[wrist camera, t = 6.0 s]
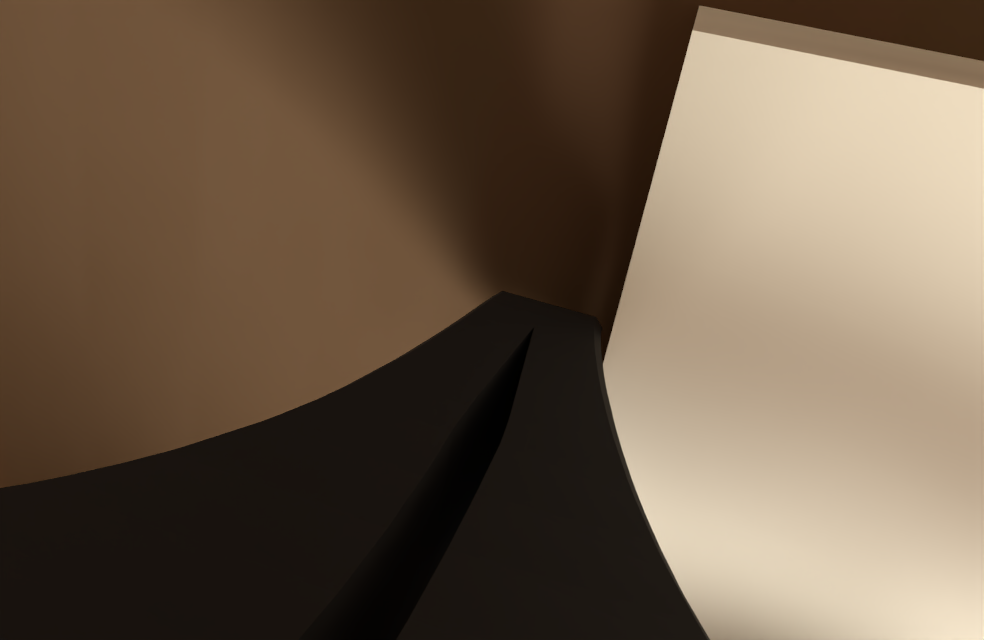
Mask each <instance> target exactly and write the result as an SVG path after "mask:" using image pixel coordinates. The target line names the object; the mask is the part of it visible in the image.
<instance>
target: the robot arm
mask: <svg viewBox="0 0 984 640" xmlns="http://www.w3.org/2000/svg"><path fill="white" fill-rule="evenodd" d="M601 331H602V326H601V325H600V323H599V321H598V320H597V318H596V317H594V316H590V315H587V314H583V313H580V312H576V311H572V310H569V309H565V308H562V307H558V306H554V305H551V304H547V303H544V302H540V301H537V300H533V299H529V298H526V297H522V296H519V295H515V294H511V293H508V292H504V291H502V292H500V293H498V294H496V295H494V296H492V297H491V298H489V299H488V300H487V301H485V302H484V303H482V304H481V305H479V306H478V307H477V308H475V309H474V310H472V311H471V312H469V313H468V314H466V315H465V316H464V317H462V318H461V319H459V320H458V321H456V322H455V323H453V324H452V325H450V326H449V327H447V328H446V329H444V330H443V331H441V332H439V333H438V334H436V335H435V336H433V337H431V338H430V339H428V340H427V341H425V342H423V343H422V344H420V345H418V346H417V347H415V348H414V349H412V350H410V351H409V352H407V353H405V354H404V355H402V356H400V357H399V358H397V359H395V360H393V361H392V362H390V363H388V364H386V365H384V366H382V367H380V368H379V369H377V370H375V371H373V372H371V373H369V374H367V375H365V376H364V377H362V378H360V379H358V380H356V381H354V382H352V383H350V384H349V385H347V386H345V387H343V388H341V389H338V390H336V391H334V392H332V393H330V394H328V395H326V396H324V397H322V398H319V399H317V400H315V401H312V402H310V403H307V404H305V405H302V406H300V407H297V408H295V409H293V410H290V411H288V412H285V413H283V414H280V415H278V416H275V417H272V418H270V419H267V420H264V421H262V422H259V423H256V424H253V425H250V426H246V427H243V428H240V429H237V430H234V431H231V432H228V433H225V434H222V435H219V436H215V437H212V438H209V439H206V440H203V441H200V442H197V443H194V444H191V445H188V446H185V447H181V448H178V449H174V450H171V451H167V452H164V453H160V454H156V455H152V456H148V457H144V458H141V459H137V460H133V461H129V462H125V463H121V464H117V465H112V466H108V467H104V468H99V469H95V470H91V471H86V472H82V473H77V474H73V475H69V476H64V477H59V478H54V479H49V480H44V481H39V482H34V483H29V484H23V485H17V486H11V487H5V488H0V640H710V639H709V637H708V635H707V634H706V632H705V630H704V628H703V627H702V625H701V623H700V622H699V620H698V618H697V616H696V615H695V613H694V611H693V610H692V608H691V606H690V604H689V603H688V601H687V599H686V598H685V596H684V594H683V592H682V590H681V588H680V587H679V584H678V582H677V580H676V578H675V576H674V574H673V572H672V570H671V568H670V566H669V564H668V562H667V560H666V558H665V556H664V554H663V552H662V550H661V548H660V546H659V544H658V541H657V539H656V537H655V535H654V532H653V530H652V528H651V526H650V523H649V521H648V519H647V517H646V514H645V512H644V509H643V507H642V504H641V502H640V499H639V497H638V494H637V492H636V489H635V486H634V483H633V481H632V478H631V475H630V472H629V469H628V466H627V463H626V460H625V457H624V454H623V451H622V448H621V444H620V441H619V438H618V434H617V431H616V427H615V423H614V419H613V415H612V410H611V406H610V402H609V398H608V394H607V389H606V383H605V378H604V371H603V363H602V354H601Z"/></svg>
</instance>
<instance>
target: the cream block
mask: <svg viewBox="0 0 984 640" xmlns="http://www.w3.org/2000/svg"><path fill="white" fill-rule="evenodd" d="M603 371H604V378H605V383H606V389H607V394H608V398H609V402H610V406H611V410H612V415H613V419H614V423H615V427H616V431H617V434H618V438H619V441H620V444H621V448H622V451H623V454H624V457H625V460H626V463H627V466H628V469H629V472H630V475H631V478H632V481H633V483H634V486H635V489H636V492H637V494H638V497H639V499H640V502H641V504H642V507H643V509H644V512H645V514H646V517H647V519H648V521H649V523H650V526H651V528H652V530H653V532H654V535H655V537H656V539H657V541H658V544H659V546H660V548H661V550H662V552H663V554H664V556H665V558H666V560H667V562H668V564H669V566H670V568H671V570H672V572H673V574H674V576H675V578H676V580H677V582H678V584H679V587H680V588H681V590H682V592H683V594H684V596H685V598H686V599H687V601H688V603H689V604H690V606H691V608H692V610H693V611H694V613H695V615H696V616H697V618H698V620H699V622H700V623H701V625H702V627H703V628H704V630H705V632H706V634H707V635H708V637H709V639H710V640H984V61H980V60H975V59H970V58H965V57H960V56H955V55H950V54H945V53H940V52H935V51H929V50H924V49H919V48H914V47H909V46H904V45H899V44H894V43H889V42H884V41H878V40H873V39H868V38H863V37H858V36H853V35H848V34H843V33H838V32H833V31H827V30H822V29H817V28H812V27H807V26H802V25H797V24H792V23H787V22H782V21H777V20H771V19H766V18H761V17H756V16H751V15H746V14H741V13H736V12H731V11H726V10H720V9H715V8H710V7H705V6H700V5H699V9H698V12H697V16H696V19H695V23H694V27H693V30H692V34H691V38H690V42H689V45H688V49H687V53H686V57H685V60H684V64H683V68H682V71H681V75H680V79H679V83H678V86H677V90H676V94H675V98H674V101H673V105H672V109H671V112H670V116H669V120H668V124H667V127H666V131H665V135H664V139H663V142H662V146H661V150H660V153H659V157H658V161H657V165H656V168H655V172H654V176H653V179H652V183H651V187H650V191H649V194H648V198H647V202H646V206H645V209H644V213H643V217H642V220H641V224H640V228H639V232H638V235H637V239H636V243H635V247H634V250H633V254H632V258H631V261H630V265H629V269H628V273H627V276H626V280H625V284H624V287H623V291H622V295H621V299H620V302H619V306H618V310H617V314H616V317H615V321H614V325H613V328H612V332H611V336H610V340H609V343H608V347H607V351H606V355H605V358H604V362H603Z"/></svg>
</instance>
